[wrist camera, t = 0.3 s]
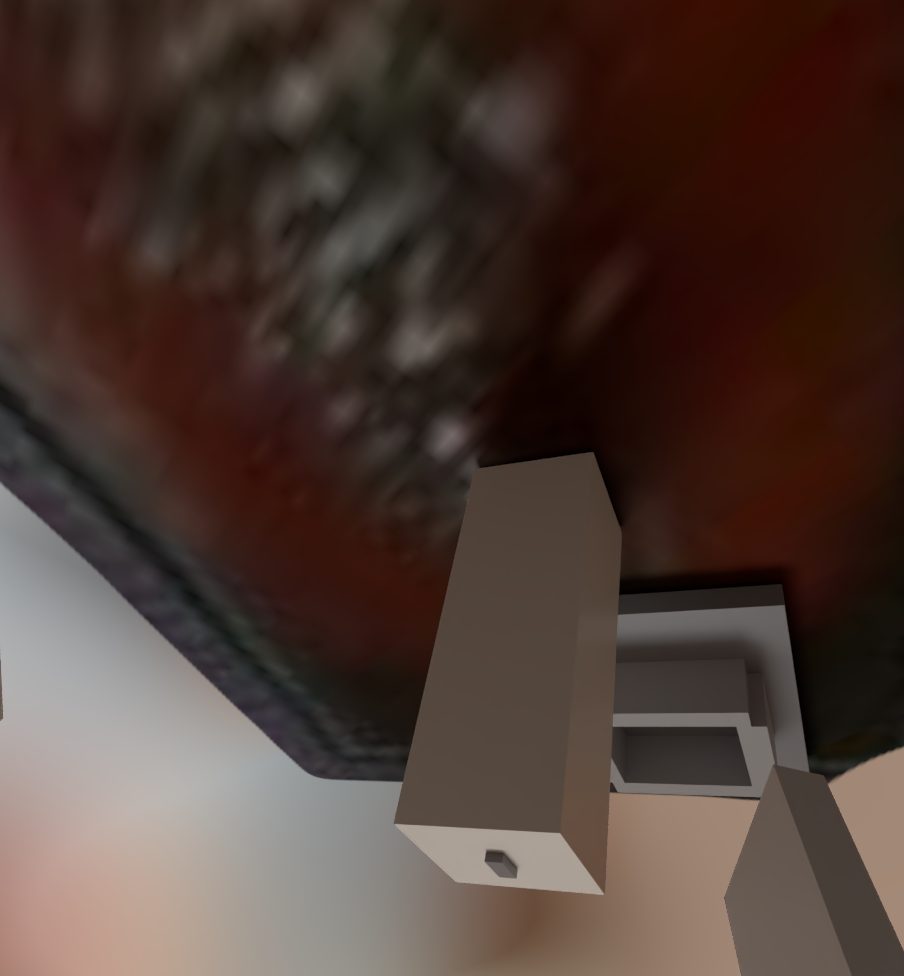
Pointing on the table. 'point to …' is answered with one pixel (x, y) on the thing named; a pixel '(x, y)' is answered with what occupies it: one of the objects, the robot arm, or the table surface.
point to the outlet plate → (704, 692)
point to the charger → (522, 685)
